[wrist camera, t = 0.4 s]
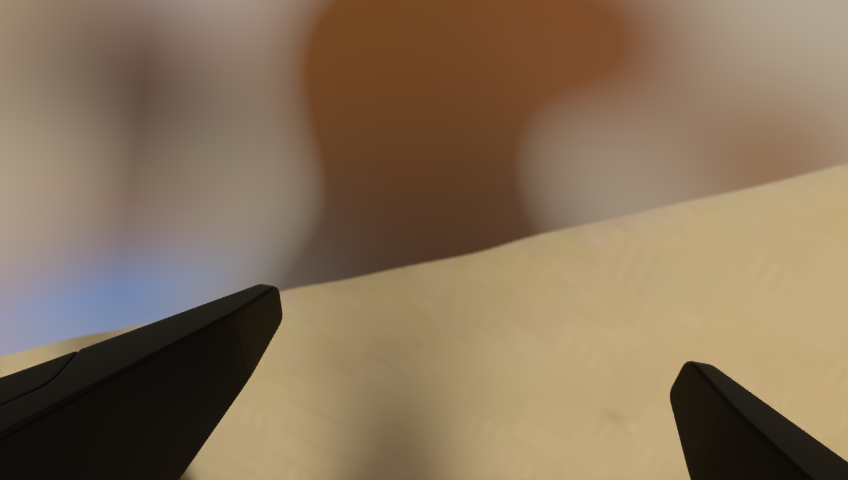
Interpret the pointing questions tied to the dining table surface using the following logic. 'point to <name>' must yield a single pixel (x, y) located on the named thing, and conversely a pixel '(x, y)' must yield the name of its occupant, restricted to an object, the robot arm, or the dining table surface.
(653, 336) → the dining table surface
